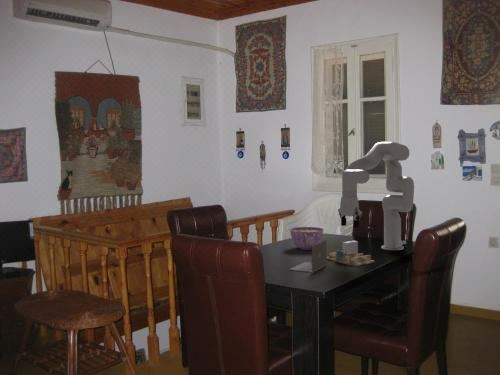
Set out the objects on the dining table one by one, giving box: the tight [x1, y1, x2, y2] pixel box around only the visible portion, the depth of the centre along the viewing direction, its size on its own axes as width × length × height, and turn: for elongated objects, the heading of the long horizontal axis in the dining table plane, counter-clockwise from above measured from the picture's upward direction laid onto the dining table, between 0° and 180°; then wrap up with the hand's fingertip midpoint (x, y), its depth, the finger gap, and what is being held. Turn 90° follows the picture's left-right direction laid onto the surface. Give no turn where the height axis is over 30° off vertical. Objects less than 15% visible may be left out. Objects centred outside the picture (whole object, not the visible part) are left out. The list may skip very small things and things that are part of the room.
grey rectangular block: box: [341, 240, 359, 256], centre depth 268 cm, size 3×8×9 cm, turn 122°
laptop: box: [289, 240, 328, 274], centre depth 254 cm, size 18×12×13 cm
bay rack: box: [326, 250, 375, 267], centre depth 268 cm, size 14×22×6 cm, turn 32°
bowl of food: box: [289, 226, 324, 251], centre depth 303 cm, size 20×20×12 cm
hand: (350, 226), depth 267 cm, fingers open, 9 cm apart
